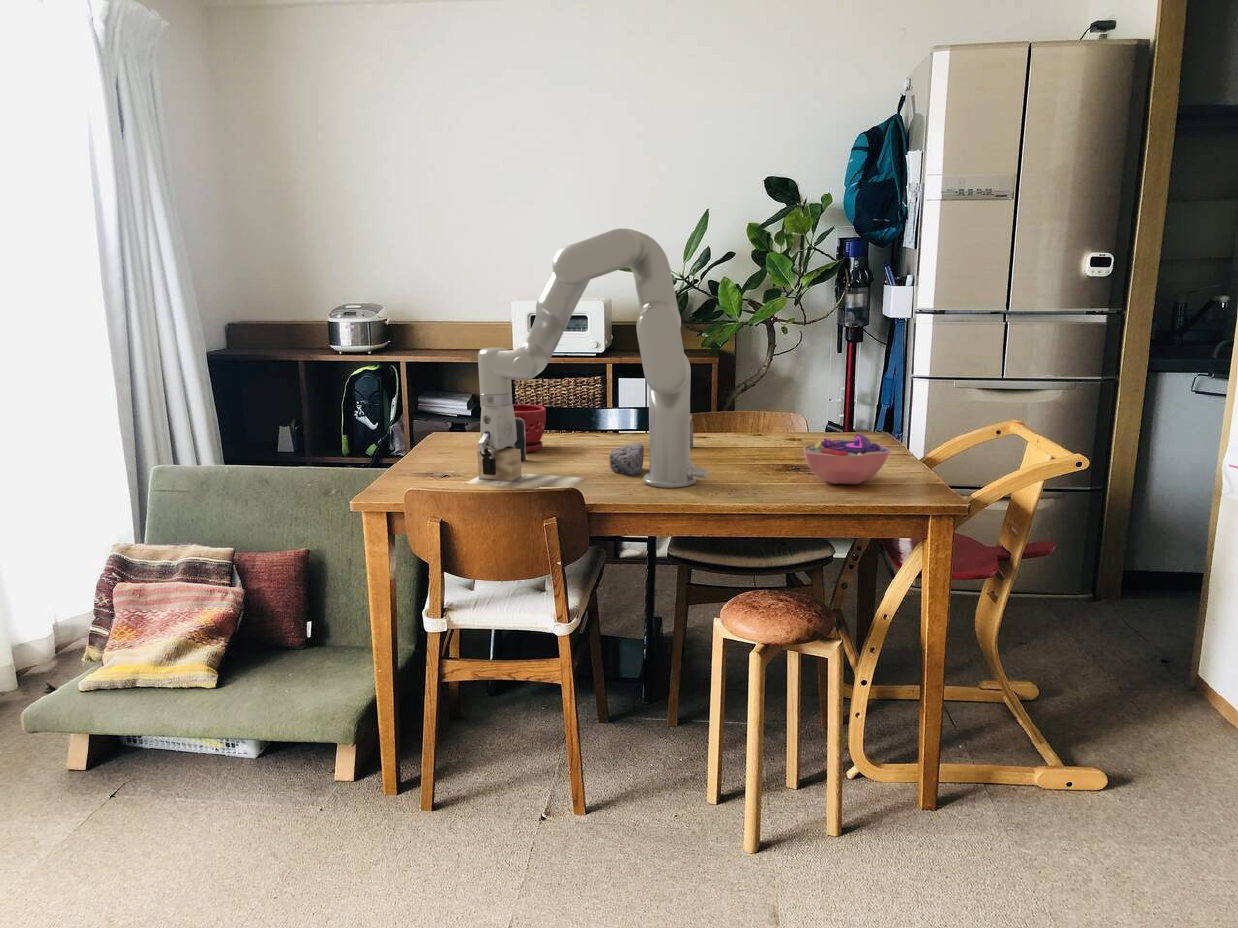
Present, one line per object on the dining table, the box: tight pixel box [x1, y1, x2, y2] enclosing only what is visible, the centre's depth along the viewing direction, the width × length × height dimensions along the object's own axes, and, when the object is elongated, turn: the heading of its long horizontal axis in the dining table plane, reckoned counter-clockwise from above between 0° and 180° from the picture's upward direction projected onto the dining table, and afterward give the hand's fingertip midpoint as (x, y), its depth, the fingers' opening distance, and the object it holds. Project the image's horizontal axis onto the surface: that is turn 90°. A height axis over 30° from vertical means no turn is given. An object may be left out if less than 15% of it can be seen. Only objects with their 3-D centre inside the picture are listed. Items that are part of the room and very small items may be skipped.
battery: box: [515, 418, 527, 462], centre depth 246 cm, size 7×4×11 cm, turn 86°
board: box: [464, 472, 587, 489], centre depth 226 cm, size 26×13×1 cm, turn 69°
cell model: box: [803, 433, 892, 485], centre depth 219 cm, size 17×20×11 cm
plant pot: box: [512, 403, 547, 453], centre depth 260 cm, size 13×13×12 cm
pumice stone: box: [609, 443, 645, 477], centre depth 233 cm, size 10×8×10 cm
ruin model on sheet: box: [690, 414, 694, 450], centre depth 260 cm, size 11×3×10 cm, turn 78°
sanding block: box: [476, 448, 522, 482], centre depth 228 cm, size 9×5×7 cm, turn 69°
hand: (499, 469), depth 228 cm, fingers open, 9 cm apart
